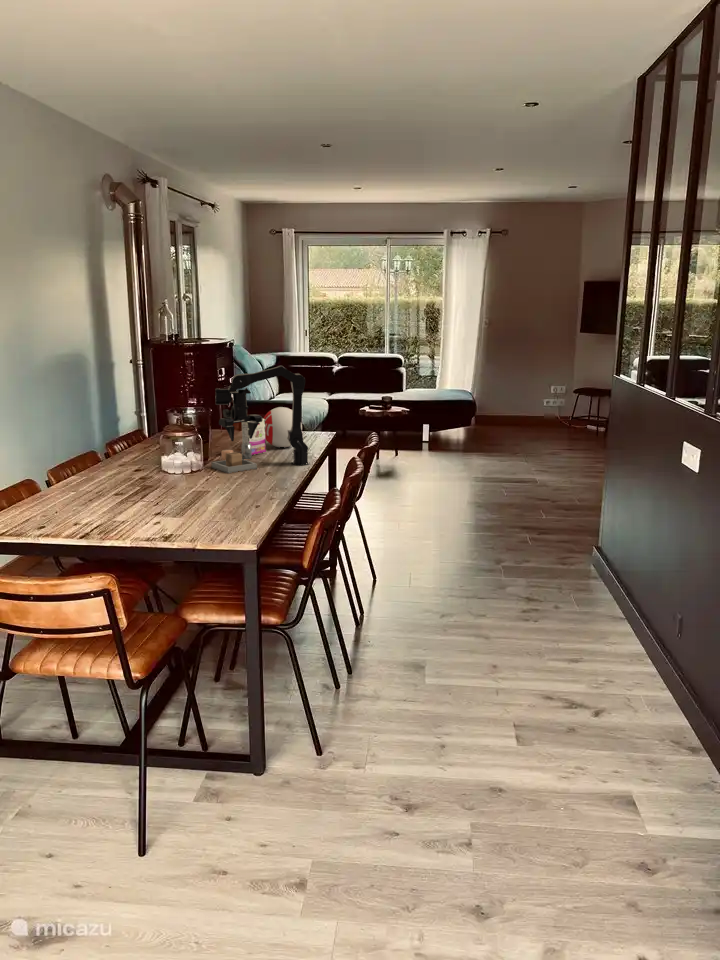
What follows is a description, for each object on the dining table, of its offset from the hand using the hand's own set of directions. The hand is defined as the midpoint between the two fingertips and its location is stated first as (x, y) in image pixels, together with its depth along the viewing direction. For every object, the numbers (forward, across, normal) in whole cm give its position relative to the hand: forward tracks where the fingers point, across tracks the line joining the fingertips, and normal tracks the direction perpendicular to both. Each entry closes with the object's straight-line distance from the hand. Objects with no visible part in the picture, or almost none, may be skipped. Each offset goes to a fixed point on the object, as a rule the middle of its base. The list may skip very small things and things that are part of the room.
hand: (241, 439), depth 321 cm
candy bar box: (+12, -19, -20) cm, 30 cm away
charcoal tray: (+12, +6, +2) cm, 13 cm away
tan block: (+12, 0, -12) cm, 17 cm away
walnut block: (+11, +6, +2) cm, 12 cm away
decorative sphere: (+12, -39, -25) cm, 48 cm away
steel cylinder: (+12, -10, -12) cm, 19 cm away
